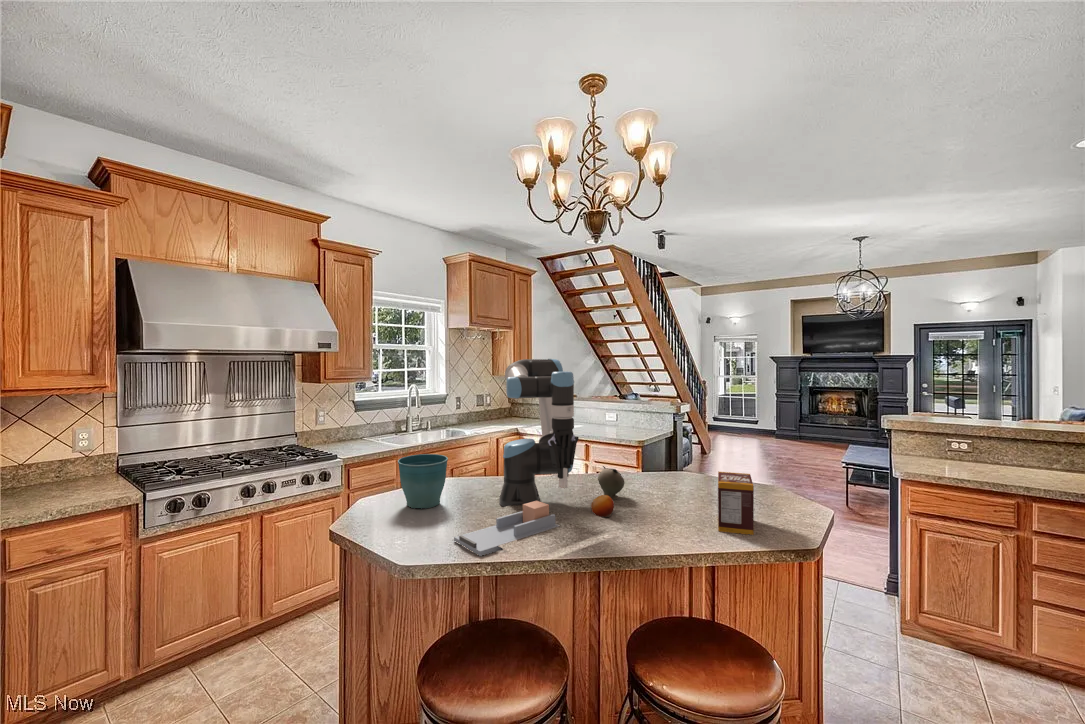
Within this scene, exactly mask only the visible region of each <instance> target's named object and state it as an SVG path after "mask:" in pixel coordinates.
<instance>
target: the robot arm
mask: <svg viewBox="0 0 1085 724" xmlns="http://www.w3.org/2000/svg"><path fill="white" fill-rule="evenodd" d="M504 378H505V382H506V388H505V389H506V390H505V391H506V397H507V398H509V399H529V398H530V399H533V398H534V399H535V398H536V399H538V408H539V418H540V420H539V421H540V426H541V427H540V429H541V437H540V438H539V440H538V442H536V441H535V439H534V438H519V439H515V440H512V441H509V442H507V443H506V444H504V447H503V455H502V458H503V485H502V487H501V491H500V494H499V496H498V500H499V501H498V503H499V505H500V506H501V507H503V508H506V507H509V506H523V504H526V503H530V502H533V501H540V500H541V499H540V497H541V496H540V494H539V491H538V488H537V484H536V476H537V475H557V478H558V488H561V489H567V488H568V477H569V476H570V475H569V474H570V472H572V470H573V467H574V464H575V463H574V461H575V456H576V449H577V443H578V441H579V439H580V437H579V436H576V435H575V434H574V431H573V430H574V429H575V418H573V417H574V416H575V413H574V412H575V411H574V410H575V404H574V403H575V402H574V401H575V395H574V390H575V380H574V373H573V371H564V370H563V364H562V363H561V361H560V360H559V359H554V358H547V359H546V358H545V359H543V358H542V359H541V358H540V359H537V358H536V359H535V358H534V359H533V358H526V359H525V358H524V359H519V360H517V361H514V362H512V363H510V364H509V365H507V367H506V369H505V371H504Z"/></svg>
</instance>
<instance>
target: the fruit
mask: <svg viewBox="0 0 1085 724" xmlns="http://www.w3.org/2000/svg"><path fill="white" fill-rule="evenodd" d="M590 507H591V512H592V513H593V514H594V515H595V516H597V517H600V518H611V516H612V515H613V511H614V509H615V501H614V500H612V498H611V497H610V496H608V495H604V494H601V495H599V496H597V497H595V498H594V499H592V502H591V503H590Z"/></svg>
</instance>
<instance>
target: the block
mask: <svg viewBox="0 0 1085 724" xmlns="http://www.w3.org/2000/svg"><path fill="white" fill-rule="evenodd" d="M522 511H523V523H525V522H529V521H532V520H535V519H538V518H541V517H545V516H549V515H550V505H549V504H548V503H545V502H541V501H540V500H539V501H533V502H530V503H526V504H523V505H522Z"/></svg>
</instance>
